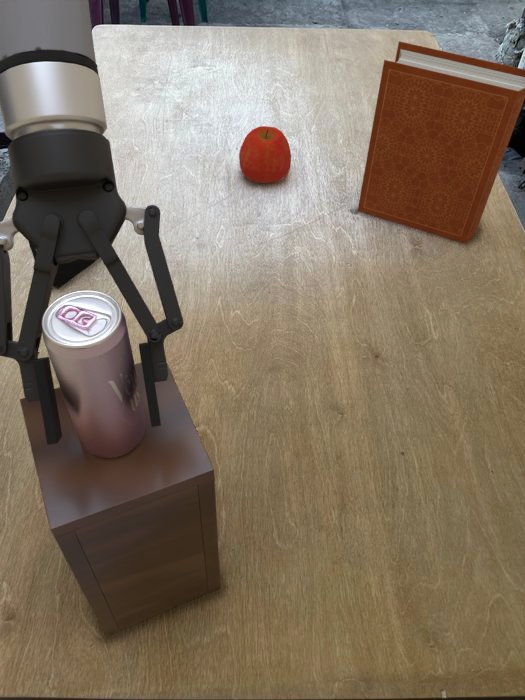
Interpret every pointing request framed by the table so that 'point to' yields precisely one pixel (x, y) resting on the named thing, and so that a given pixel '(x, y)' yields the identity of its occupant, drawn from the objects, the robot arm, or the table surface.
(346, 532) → the table surface
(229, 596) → the table surface
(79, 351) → the beverage can
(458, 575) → the table surface
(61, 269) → the electronic device
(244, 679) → the table surface
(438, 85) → the book
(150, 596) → the stand
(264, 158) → the apple
